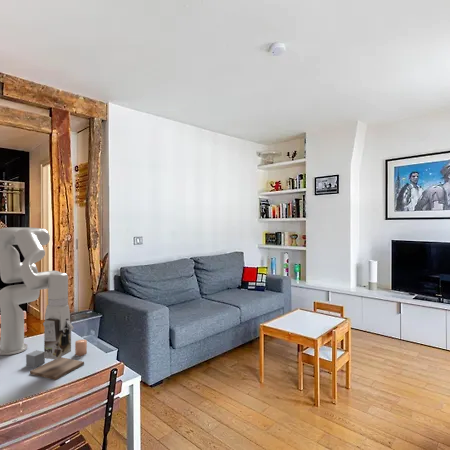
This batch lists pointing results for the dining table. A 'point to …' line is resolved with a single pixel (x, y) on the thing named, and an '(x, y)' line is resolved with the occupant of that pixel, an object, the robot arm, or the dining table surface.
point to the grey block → (35, 358)
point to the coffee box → (54, 340)
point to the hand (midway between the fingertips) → (58, 343)
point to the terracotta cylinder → (80, 347)
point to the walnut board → (57, 368)
